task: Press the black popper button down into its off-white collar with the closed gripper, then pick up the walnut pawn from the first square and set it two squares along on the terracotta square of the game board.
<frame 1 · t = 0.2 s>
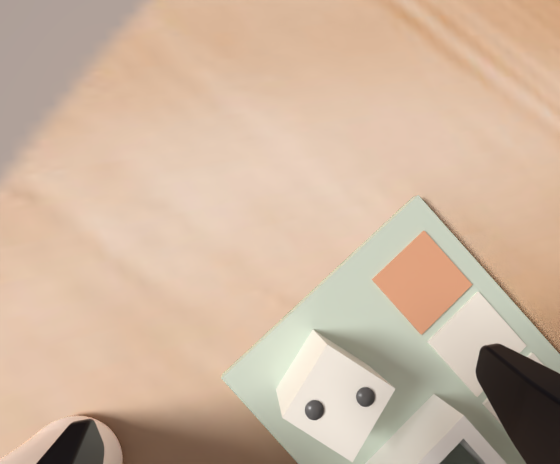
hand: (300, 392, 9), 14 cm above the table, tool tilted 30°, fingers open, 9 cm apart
die: (323, 377, 22), resting on board
drinking glass: (79, 458, 22), on the table
board: (418, 391, 24), on the table
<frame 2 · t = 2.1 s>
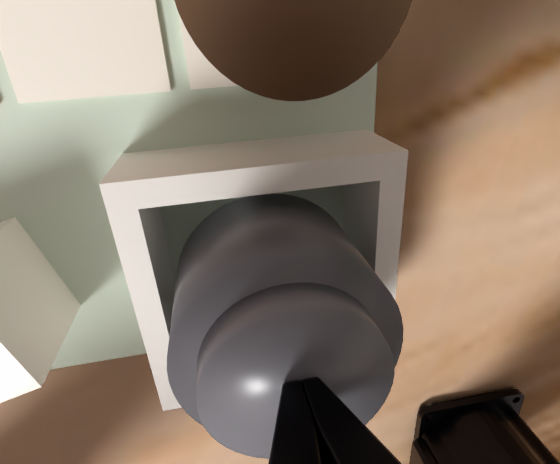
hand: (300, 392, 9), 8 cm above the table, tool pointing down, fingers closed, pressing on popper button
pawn: (254, 4, 11), point 1 cm above the table, touching board
popper button: (280, 322, 11), point 5 cm above the table, slide at 0.1 cm, touching gripper
board: (121, 162, 14), on the table
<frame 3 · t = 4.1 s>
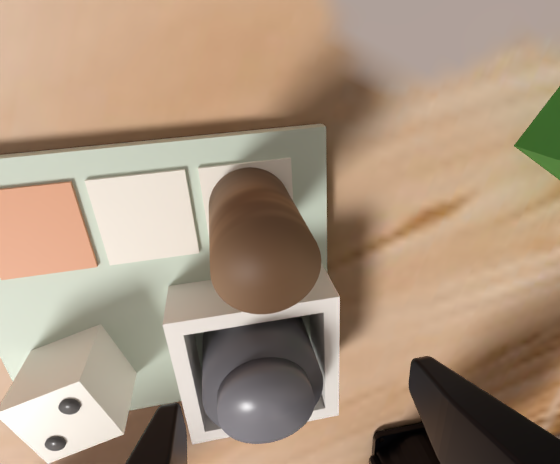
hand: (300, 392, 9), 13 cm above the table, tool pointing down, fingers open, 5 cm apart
die: (86, 362, 22), resting on board
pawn: (249, 206, 19), point 1 cm above the table, touching board
popper button: (260, 370, 20), point 4 cm above the table, slide at 1.8 cm
board: (165, 286, 21), on the table
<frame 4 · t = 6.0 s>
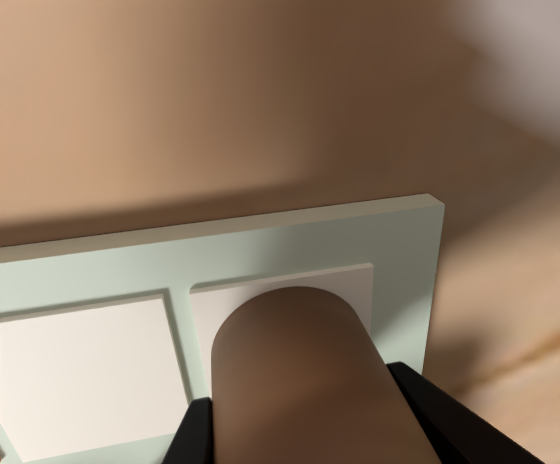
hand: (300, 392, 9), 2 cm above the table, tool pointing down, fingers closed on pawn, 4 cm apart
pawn: (289, 351, 10), point 1 cm above the table, touching board, gripper
board: (135, 463, 12), on the table
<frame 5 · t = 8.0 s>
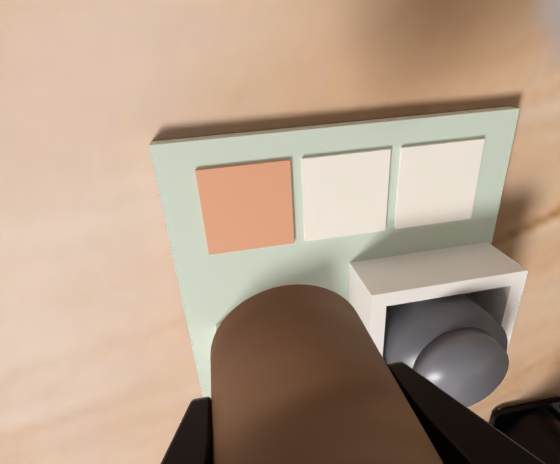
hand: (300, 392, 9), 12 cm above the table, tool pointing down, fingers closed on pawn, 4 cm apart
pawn: (289, 349, 10), point 11 cm above the table, touching gripper
popper button: (438, 342, 21), point 4 cm above the table, slide at 1.8 cm
board: (339, 263, 22), on the table
when the fingers open (3 cm above the table, at t = 9.8 s): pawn drops 1 cm, resting on board.
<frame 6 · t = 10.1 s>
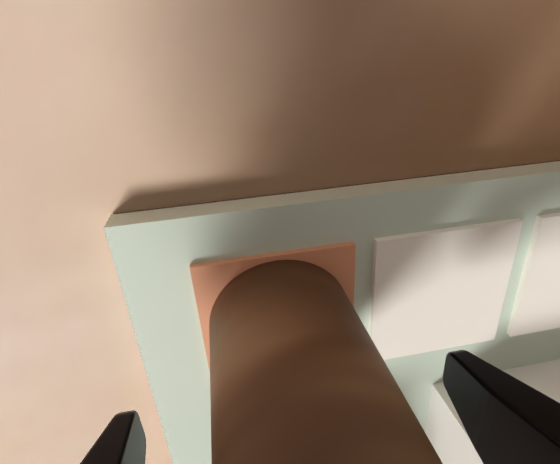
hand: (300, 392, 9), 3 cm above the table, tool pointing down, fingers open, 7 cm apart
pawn: (280, 320, 11), point 1 cm above the table, touching board
board: (412, 378, 15), on the table
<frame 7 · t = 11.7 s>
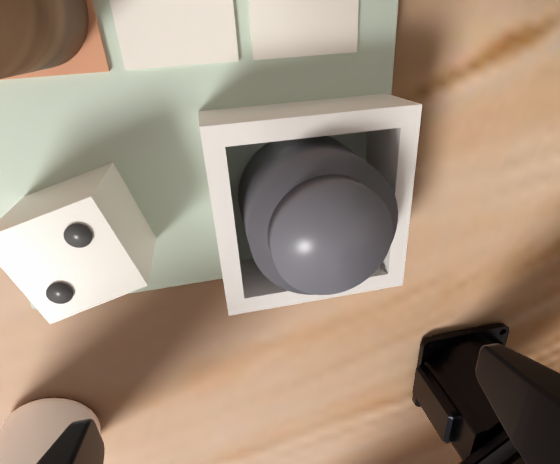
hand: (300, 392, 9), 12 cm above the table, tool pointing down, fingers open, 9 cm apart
die: (94, 218, 17), resting on board
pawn: (25, 6, 13), point 1 cm above the table, touching board
drinking glass: (56, 421, 23), on the table
popper button: (315, 215, 16), point 4 cm above the table, slide at 1.8 cm
board: (192, 120, 17), on the table
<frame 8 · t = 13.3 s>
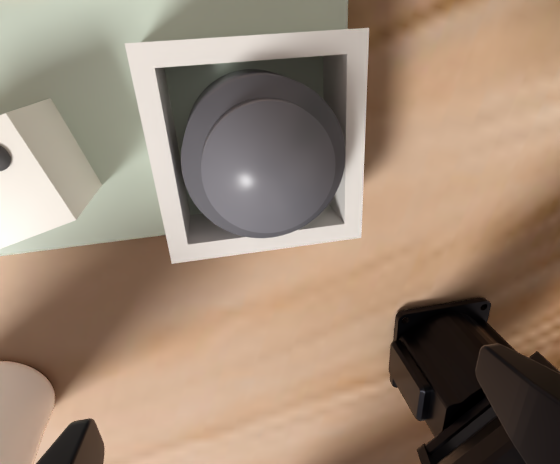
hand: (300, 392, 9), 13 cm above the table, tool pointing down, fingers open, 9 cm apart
die: (34, 160, 17), resting on board
drinking glass: (9, 387, 23), on the table
popper button: (260, 153, 15), point 4 cm above the table, slide at 1.8 cm
board: (137, 57, 16), on the table
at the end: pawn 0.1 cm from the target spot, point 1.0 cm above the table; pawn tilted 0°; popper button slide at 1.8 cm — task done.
